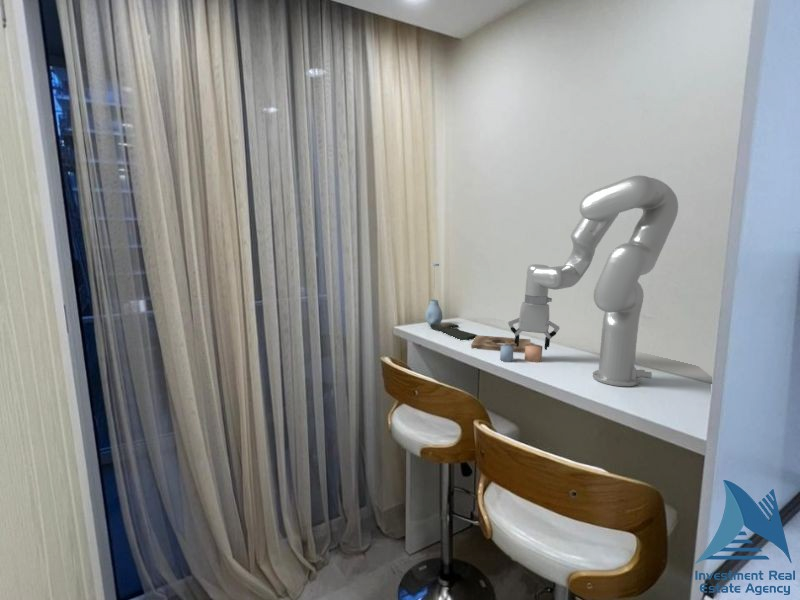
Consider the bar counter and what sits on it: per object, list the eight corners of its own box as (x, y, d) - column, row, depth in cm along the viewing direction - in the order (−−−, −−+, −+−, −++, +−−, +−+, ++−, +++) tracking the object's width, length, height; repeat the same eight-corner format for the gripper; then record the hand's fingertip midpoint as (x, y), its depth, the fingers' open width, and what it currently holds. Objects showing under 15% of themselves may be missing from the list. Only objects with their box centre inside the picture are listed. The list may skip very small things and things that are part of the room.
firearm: (490, 333, 180) (463, 337, 173) (490, 338, 180) (462, 343, 173) (450, 321, 204) (425, 324, 197) (450, 325, 205) (425, 328, 197)
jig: (530, 342, 171) (530, 339, 171) (530, 353, 156) (530, 349, 156) (476, 338, 178) (476, 335, 178) (471, 348, 163) (471, 344, 162)
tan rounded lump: (541, 358, 150) (542, 344, 150) (541, 362, 145) (542, 349, 144) (524, 356, 152) (525, 343, 151) (524, 361, 147) (525, 347, 146)
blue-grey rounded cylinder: (513, 359, 149) (513, 345, 148) (512, 362, 145) (513, 348, 144) (500, 358, 150) (501, 344, 149) (499, 361, 146) (500, 347, 145)
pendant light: (435, 322, 209) (436, 263, 204) (445, 325, 202) (447, 264, 197) (422, 324, 205) (423, 263, 200) (431, 327, 198) (433, 264, 193)
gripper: (561, 300, 146) (556, 347, 149) (510, 296, 151) (507, 341, 154) (563, 304, 139) (557, 353, 142) (509, 299, 144) (505, 347, 147)
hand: (531, 347), depth 148 cm, fingers open, 9 cm apart
